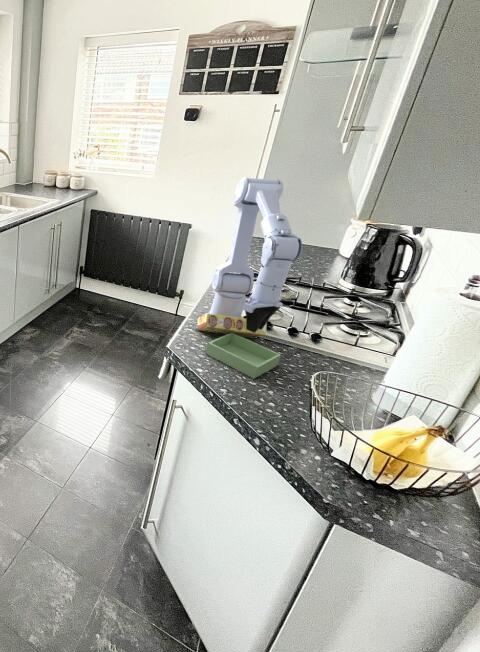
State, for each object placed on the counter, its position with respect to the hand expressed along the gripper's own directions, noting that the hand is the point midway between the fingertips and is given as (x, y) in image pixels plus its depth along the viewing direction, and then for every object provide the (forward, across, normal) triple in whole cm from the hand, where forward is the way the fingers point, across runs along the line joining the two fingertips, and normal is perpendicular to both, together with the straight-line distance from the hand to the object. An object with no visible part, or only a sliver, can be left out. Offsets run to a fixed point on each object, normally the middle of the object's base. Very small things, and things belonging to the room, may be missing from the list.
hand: (254, 329), depth 112 cm
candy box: (+5, +11, +2) cm, 12 cm away
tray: (+9, -2, 0) cm, 9 cm away
